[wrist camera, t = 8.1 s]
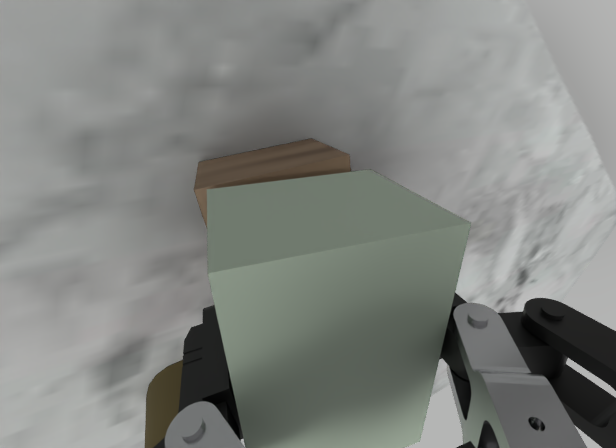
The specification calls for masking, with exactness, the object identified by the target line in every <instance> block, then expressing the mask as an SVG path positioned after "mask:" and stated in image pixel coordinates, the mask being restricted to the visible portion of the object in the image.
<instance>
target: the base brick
mask: <svg viewBox="0 0 616 448" xmlns="http://www.w3.org/2000/svg"><path fill="white" fill-rule="evenodd" d="M345 172H351V167H350V156H349V154H347V153H344V152H342V151H340V150H337V149H335V148H333V147H330V146H328V145H326V144H323V143H321V142H319V141H316V140H314V139H312V138H311V139H306V140H302V141H297V142H292V143H287V144H283V145H278V146H273V147H268V148H264V149H259V150H254V151H249V152H244V153H240V154H235V155H230V156H225V157H221V158H216V159H211V160H206V161H202V162H199V163H198V169H197V175H196V181H195V187H194V192H195V195H196V198H197V201H198V204H199V207H200V210H201V213H202V216H203V219H204V222H205V225H206V228H207V189H214V188H223V187H231V186H239V185H247V184H255V183H263V182H272V181H280V180H288V179H296V178H304V177H312V176H321V175H329V174H337V173H345Z"/></svg>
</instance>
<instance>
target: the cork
mask: <svg viewBox="0 0 616 448" xmlns="http://www.w3.org/2000/svg"><path fill="white" fill-rule="evenodd" d="M182 363H183V360H182V361H179V362H177V363H175V364H172V365H170V366H168V367H166V368H165V369H164V370H162V371H161V372H160V373H158V374H157V375H156V376H155V377H154V379H153V380H152V382H151V383H150V384H149V387H148V391H147V397H146V426H145V448H153V447H154V446H155V445H157V444H158V443H159V442H160V441H161V440H162V439H163V438H164V437H165V436H166V432H167V430H168V427H169V425H170V424H171V422H172V421H173V419H174V418H175V417H176V416H177V414H178V410H179V400H180V387H181V375H182V367H183V364H182Z"/></svg>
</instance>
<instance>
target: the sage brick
mask: <svg viewBox="0 0 616 448" xmlns="http://www.w3.org/2000/svg"><path fill="white" fill-rule="evenodd" d="M470 226H471V222H469V221H467V220H465V219H463V218H461V217H459V216H457V215H455V214H454V213H452V212H450V211H448V210H446V209H444V208H442V207H440V206H438V205H437V204H435V203H433V202H431V201H429V200H427V199H425V198H423V197H421V196H420V195H418V194H416V193H414V192H412V191H410V190H408V189H406V188H404V187H403V186H401V185H399V184H397V183H395V182H393V181H391V180H389V179H387V178H386V177H384V176H382V175H380V174H378V173H376V172H374V171H372V170H361V171H353V172H345V173H337V174H329V175H321V176H312V177H304V178H296V179H288V180H280V181H272V182H263V183H255V184H247V185H239V186H231V187H223V188H214V189H207V258H208V277H209V282H210V286H211V291H212V296H213V300H214V305H215V309H216V314H217V319H218V323H219V328H220V332H221V337H222V342H223V346H224V351H225V355H226V360H227V365H228V369H229V374H230V378H231V383H232V387H233V392H234V397H235V401H236V406H237V410H238V415H239V420H240V424H241V429H242V433H243V438H244V443H245V447H246V448H405V447H407V446H410V445H412V444H415V443H417V442H420V439H421V435H422V430H423V426H424V422H425V418H426V413H427V409H428V405H429V401H430V396H431V392H432V388H433V384H434V379H435V375H436V371H437V367H438V362H439V358H440V354H441V350H442V345H443V341H444V337H445V333H446V328H447V324H448V320H449V316H450V311H451V307H452V303H453V299H454V294H455V290H456V286H457V282H458V277H459V273H460V269H461V265H462V260H463V256H464V252H465V248H466V243H467V239H468V235H469V231H470Z"/></svg>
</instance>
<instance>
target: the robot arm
mask: <svg viewBox="0 0 616 448" xmlns="http://www.w3.org/2000/svg"><path fill="white" fill-rule="evenodd" d="M183 354H184V356H183V363H182V364H183V367H182V375H181V387H180V400H179V410H178V414H177V416H176V417H175V418H174V419H173V421H172V422H171V424H170V425H169V427H168V430H167V432H166V436H165V437H164V438H163V439H162V440H161V441H160V442H159V443H158V444H157V445H155V446H154V447H153V448H245V447H244V445H243V444H242V443H241V440H240V439H243V433H242V429H241V424H240V420H239V415H238V410H237V406H236V401H235V397H234V392H233V387H232V383H231V378H230V374H229V369H228V365H227V360H226V355H225V351H224V346H223V342H222V337H221V332H220V328H219V323H218V319H217V314H216V309H215V305H213V306H210V307H207V308H204V309H203V324H200V325H197V326H194V327H191V329H190V331H189V333H188V335H187V337H186V338H185V340H184V351H183ZM442 358H443V359H444V361H445V362H446V363H447V374H448V378H449V381H450V385H451V389H452V393H453V396H454V400H455V404H456V407H457V411H458V415H459V419H460V422H461V427H462V432H463V445H461V446H459V447H457V448H587V447H586V445H585V443H584V441H583V440H582V438H581V436H580V434H579V433H578V431H577V429H576V428H575V426H576V427H578V428H579V429H580V430H581V431H583V432H584V433H585V434H586V435H587V436H589V437H590V438H591V439H593V440H594V441H595V442H596V443H597V444H599V445H600V446H601V447H602V448H616V398H615V397H614V396H612V395H611V394H609V393H608V392H606V391H605V390H603V389H602V388H600V387H599V386H597V385H596V384H595V383H593V382H592V381H590V380H589V379H587V378H586V377H584V376H583V375H581V374H580V373H578V372H577V371H575V370H574V369H572V368H571V367H569V366H568V365H566V361H567V359H568V358H570V359H571V360H573V361H574V362H576V363H577V364H579V365H580V366H582V367H583V368H585V369H586V370H588V371H589V372H591V373H592V374H594V375H595V376H597V377H599V378H600V379H602V380H603V381H604V382H606V383H607V384H609V385H610V386H611V387H612V388H614V390H615V391H616V331H614V330H612V329H610V328H608V327H607V326H605V325H603V324H601V323H599V322H597V321H595V320H593V319H592V318H590V317H588V316H586V315H584V314H582V313H580V312H578V311H576V310H575V309H573V308H571V307H569V306H567V305H565V304H563V303H561V302H558V301H555V300H552V299H546V298H534V299H531V300H529V301H527V302H526V304H525V307H524V310H523V312H511V313H497V312H495V311H494V310H493V309H491V308H489V307H487V306H485V305H482V304H477V303H467V302H466V301H465V300H463V299H462V298H461V297H460V296H459V295H457V294H456V293H455V294H454V299H453V303H452V307H451V311H450V316H449V320H448V324H447V328H446V333H445V337H444V341H443V345H442V350H441V354H440V358H439V359H442ZM574 425H575V426H574Z"/></svg>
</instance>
